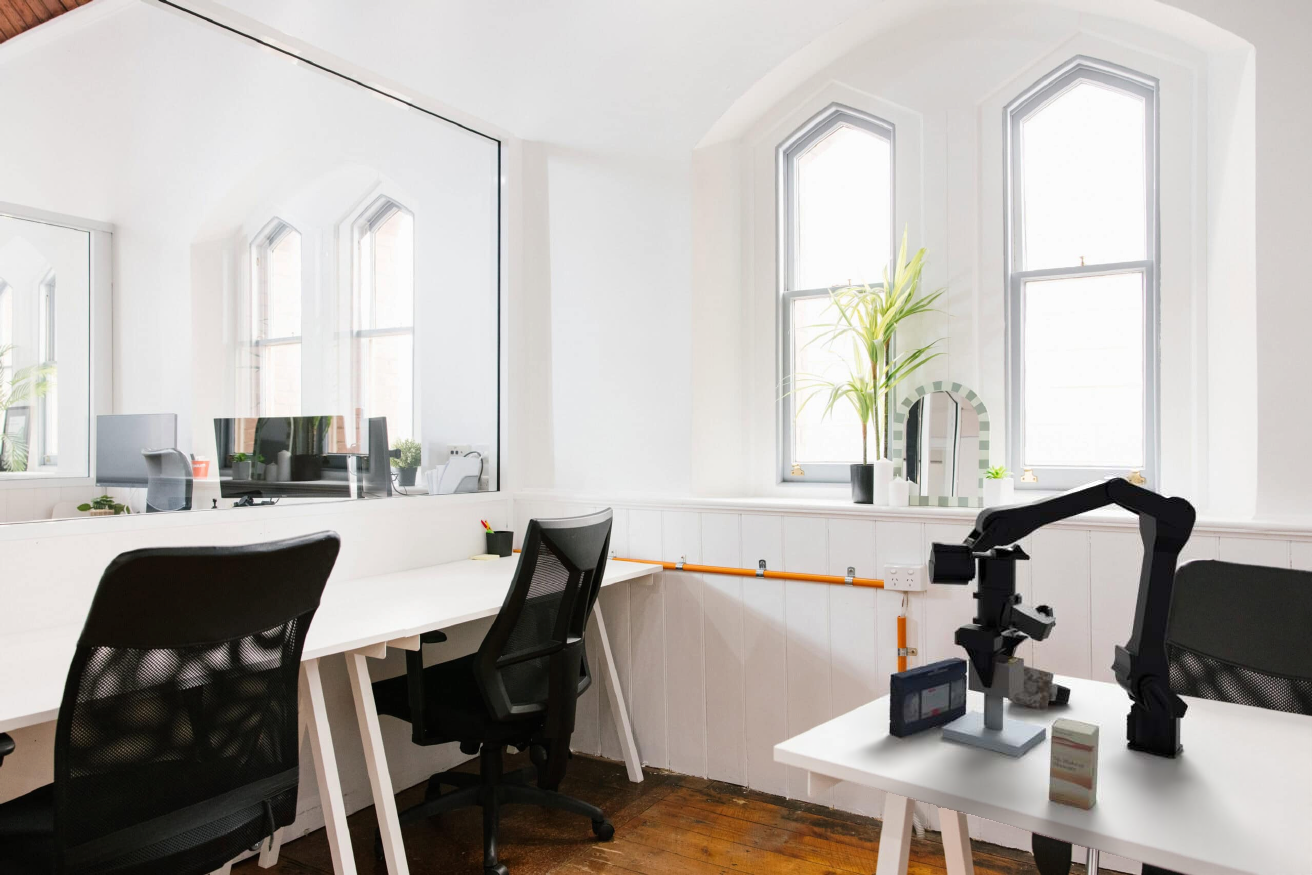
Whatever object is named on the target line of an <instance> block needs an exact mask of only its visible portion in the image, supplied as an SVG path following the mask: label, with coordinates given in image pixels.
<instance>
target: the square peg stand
mask: <svg viewBox="0 0 1312 875" xmlns="http://www.w3.org/2000/svg"><path fill="white" fill-rule="evenodd" d="M941 729H942V730H941V737H942V738H945V739H949V740H952V741H957V742H959V743H964V744H967V745H971V746H976V747H980V748H983V749H986V750H987V749H988V750H990V751H994V752H998V753H1003V754H1006V755H1010V756H1013V757H1018V758H1020V757H1021V756H1023V755H1024V754H1025V753H1026V752H1028V751H1029V750H1030V749H1031V748H1034V746H1036V745H1037V744H1039V742H1041V741H1042V740H1044V739H1045V738H1046V737H1047V736H1046V735H1047V727H1044V726H1041V725H1036V724H1031V723H1026V722H1024V721H1018V720H1015V719H1010V718H1006V717H1004V697H1000V696H995V695H990V694H986V693H983V712H980V711H976V710H971V711H969V712H966V714H965V715H964V716H962V717H960V718H958V719H957V720H955V721H953V722H950V723H947V724H945V726H944V725H943V726H942V728H941Z"/></svg>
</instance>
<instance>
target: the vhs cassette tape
mask: <svg viewBox="0 0 1312 875" xmlns="http://www.w3.org/2000/svg"><path fill="white" fill-rule="evenodd" d="M967 673H968V660H966V659H964V658H961V657H953V658H947V659H944V660H941V661H940V660H939V661H936V662H933V663H929V664H926V665H921V666H917V667H914V668H910V669H907V670H902V671H900V672H896V673H892V674H890V680H889V681H890V682H889V691H890V692H889V694H890V695H889V723H888V724H889V726H888V727H889V732H888V733H889V735H891V736H894V737H897V738H899V739H904V738H907V737H910V736H914V735H916V734H917V735H918V734H920V733H922V732H925V731H929V730H931V729H934V728H937V727H941V726H944V725H948V724H950V723H951V722H953V721H955V720H957V719H958V718H960V717H962V716H964V715H965V714H967V689H968V688H967V686H968V675H967Z"/></svg>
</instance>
